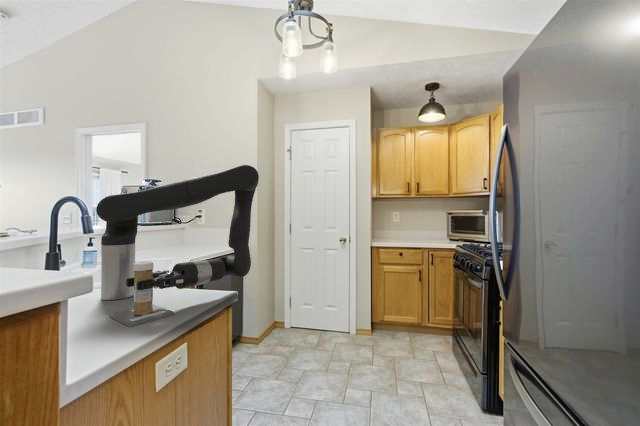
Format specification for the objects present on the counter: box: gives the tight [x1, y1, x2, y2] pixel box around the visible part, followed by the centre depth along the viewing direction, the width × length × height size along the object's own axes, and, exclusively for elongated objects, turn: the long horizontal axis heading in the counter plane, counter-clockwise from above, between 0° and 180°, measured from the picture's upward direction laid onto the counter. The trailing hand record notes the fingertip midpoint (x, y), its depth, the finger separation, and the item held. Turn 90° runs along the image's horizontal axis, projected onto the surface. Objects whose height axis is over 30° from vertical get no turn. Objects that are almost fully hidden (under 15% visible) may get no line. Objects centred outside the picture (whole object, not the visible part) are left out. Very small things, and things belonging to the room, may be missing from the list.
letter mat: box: [108, 303, 175, 328], centre depth 77 cm, size 12×11×1 cm
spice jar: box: [133, 260, 154, 315], centre depth 78 cm, size 5×5×14 cm
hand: (132, 284), depth 75 cm, fingers open, 5 cm apart
